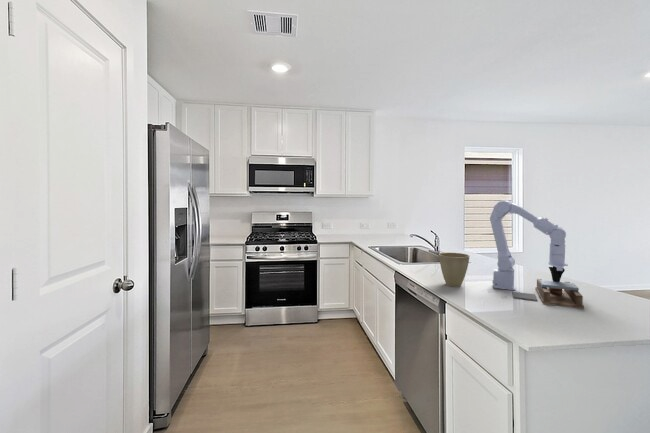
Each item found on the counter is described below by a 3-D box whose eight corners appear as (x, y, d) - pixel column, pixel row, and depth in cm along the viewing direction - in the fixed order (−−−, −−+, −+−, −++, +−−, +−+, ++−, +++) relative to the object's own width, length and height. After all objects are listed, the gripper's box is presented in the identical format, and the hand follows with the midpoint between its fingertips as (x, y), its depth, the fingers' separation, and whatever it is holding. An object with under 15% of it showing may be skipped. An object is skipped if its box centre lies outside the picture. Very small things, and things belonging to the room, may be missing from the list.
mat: (513, 298, 141) (513, 297, 141) (512, 292, 149) (512, 291, 149) (537, 301, 137) (537, 299, 137) (534, 295, 145) (534, 294, 145)
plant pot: (475, 286, 161) (475, 255, 160) (456, 290, 154) (456, 258, 153) (450, 279, 174) (451, 251, 173) (432, 283, 167) (432, 254, 166)
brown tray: (542, 303, 134) (542, 291, 134) (535, 289, 155) (535, 278, 154) (583, 308, 128) (584, 296, 128) (570, 293, 148) (571, 282, 148)
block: (549, 295, 145) (550, 284, 145) (548, 292, 149) (548, 282, 149) (561, 296, 143) (562, 286, 143) (559, 294, 147) (560, 283, 147)
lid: (541, 287, 140) (542, 284, 140) (539, 282, 147) (539, 280, 147) (578, 290, 134) (578, 288, 134) (574, 286, 141) (574, 283, 141)
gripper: (571, 257, 135) (570, 288, 136) (564, 252, 148) (563, 280, 149) (551, 256, 139) (550, 286, 140) (546, 250, 151) (545, 278, 152)
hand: (556, 282), depth 145 cm, fingers closed
